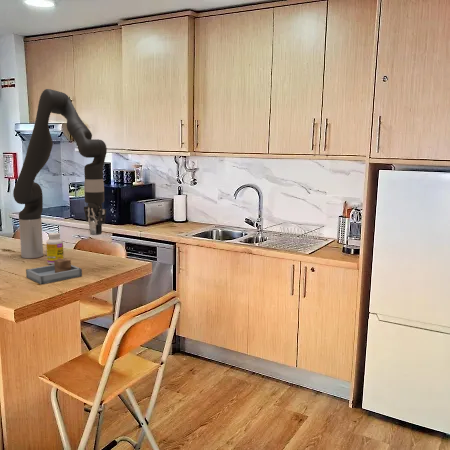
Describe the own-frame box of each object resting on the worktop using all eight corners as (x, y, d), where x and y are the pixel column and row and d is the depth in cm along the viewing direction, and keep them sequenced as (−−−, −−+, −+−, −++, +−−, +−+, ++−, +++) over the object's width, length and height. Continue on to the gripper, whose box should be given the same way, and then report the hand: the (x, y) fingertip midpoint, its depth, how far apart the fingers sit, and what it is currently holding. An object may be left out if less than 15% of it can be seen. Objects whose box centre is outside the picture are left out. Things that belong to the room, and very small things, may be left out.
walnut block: (65, 270, 187) (65, 258, 186) (71, 272, 184) (70, 260, 183) (54, 272, 184) (54, 260, 183) (60, 274, 181) (59, 262, 180)
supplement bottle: (58, 265, 199) (57, 235, 197) (44, 264, 200) (42, 234, 198) (66, 261, 205) (65, 232, 203) (53, 260, 207) (51, 231, 205)
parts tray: (26, 277, 181) (26, 269, 180) (66, 269, 192) (65, 262, 192) (41, 284, 172) (40, 276, 171) (81, 276, 183) (81, 268, 182)
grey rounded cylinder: (88, 234, 191) (87, 220, 190) (97, 232, 194) (97, 219, 193) (93, 235, 188) (93, 221, 187) (103, 234, 191) (103, 220, 190)
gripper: (112, 191, 186) (113, 234, 189) (93, 188, 196) (95, 229, 199) (95, 192, 181) (96, 236, 183) (76, 189, 191) (78, 231, 193)
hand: (95, 232), depth 191 cm, fingers closed on grey rounded cylinder, 4 cm apart
